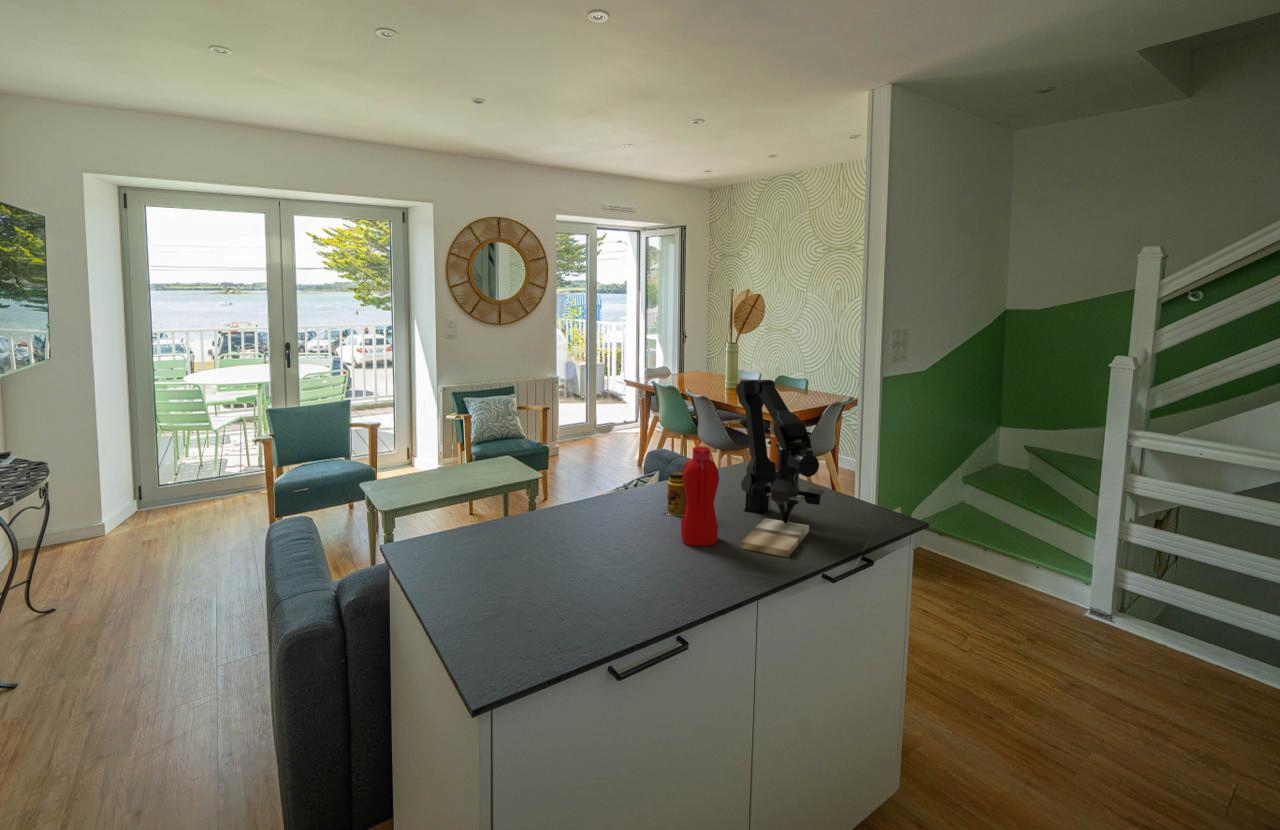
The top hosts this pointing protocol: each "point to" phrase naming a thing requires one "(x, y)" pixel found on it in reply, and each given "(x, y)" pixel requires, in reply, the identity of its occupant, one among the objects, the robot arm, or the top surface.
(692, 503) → the water bottle
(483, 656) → the top surface
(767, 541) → the floor board
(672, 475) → the condiment
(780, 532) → the plank
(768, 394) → the robot arm
